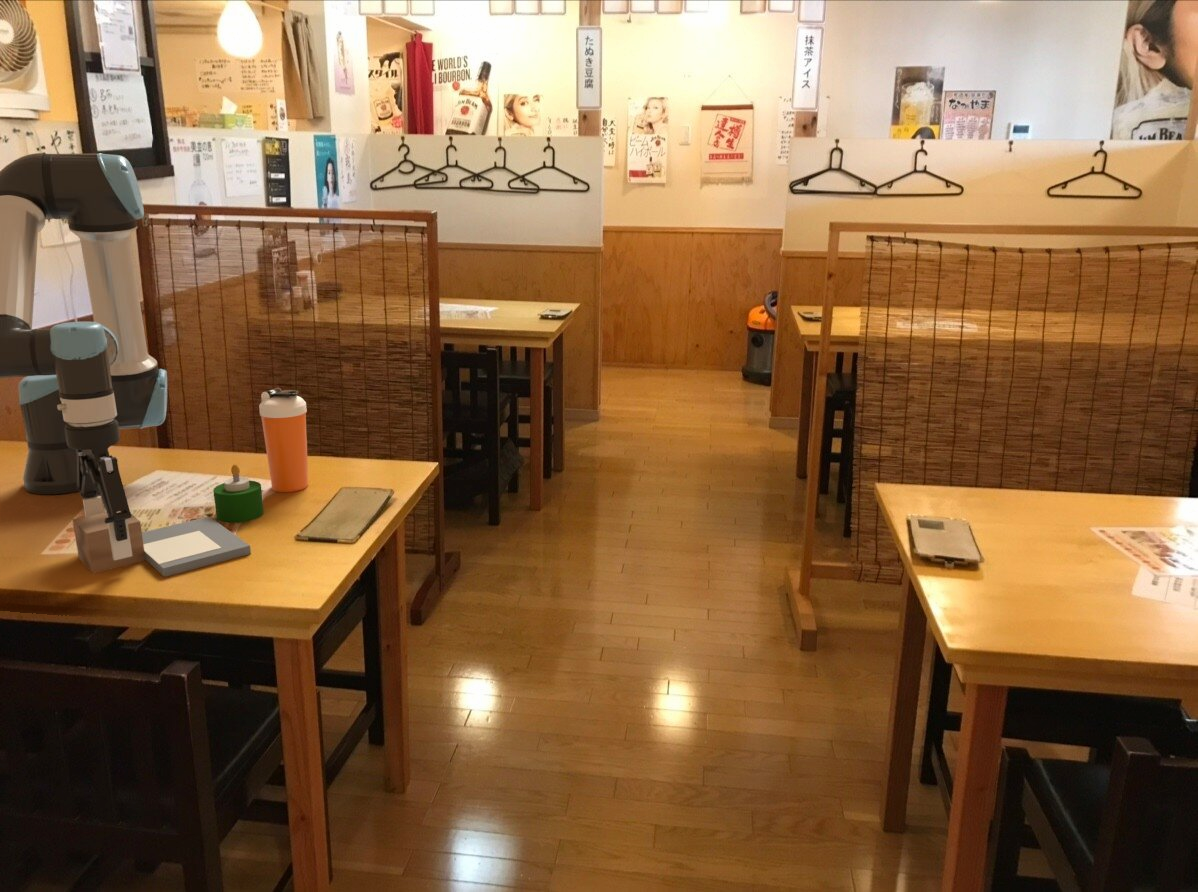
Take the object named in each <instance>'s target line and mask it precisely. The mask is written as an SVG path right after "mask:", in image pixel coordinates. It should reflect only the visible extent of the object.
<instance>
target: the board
mask: <svg viewBox="0 0 1198 892" xmlns="http://www.w3.org/2000/svg"><path fill="white" fill-rule="evenodd" d="M142 538H143V545H144V552H145V559H146V560H145V561H147V563H148V564H149V565H151V566H152V567H153V568H154V569H155V570H156V571H157V572H158V573H159V574H161V575H162V577H164V578H166V577H169V576H175V575H177V574H180V573H185V572H188V571H192V570H196V569H200V568H204V567H207V566H210V565H215V564H217V563H221V562H222V563H223V562H225V561H229V560H232V559H237V558H240V557H244V556H248V555H250V554H252V553H251V545H250V544H248V543H247V542H246V541H244V540H243V539H242V538H240V537H238V536H237V535H236V534H234V532H232V531H230V530H229V529H227V528H226V527H225V526H223V525H222V524H220V522H219V521H216V520H215V519H214V518H212V517H211V516H206V517H200V518H198V519H197V518H196V519H193V520H188V521H184V522H180V523H175V524H172V525H168V526H163V527H159V528H154V529H150V530H147V531H146V530H145V531H142Z"/></svg>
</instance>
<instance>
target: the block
mask: <svg viewBox="0 0 1198 892" xmlns="http://www.w3.org/2000/svg"><path fill="white" fill-rule="evenodd" d="M119 512H121V511H118V512H117V513H119ZM105 518H109V517H108V514H107V511H106V512H105V511H104V513H101V514H96V515H91V516H87V517H85V516H83V517H79V518H74V519H72V524H73V531H74V536H75V538H74V539H75V544H76V550H77V555H78V559H79V561H81V562H82V564H84V566H85V567H87V569H88V570H89V571H90V572H91V574H96V573H101V572H104V571H109V570H111V569H112V570H113V569H116V568H121V567H124V566H128V565H133V564H135V563H136V564H137V563H140V562H144V561H146V559H145V552H144V545H143V538H142V532H143V531H142V525H141V520H139V519H138V518H137V517H135V516H134V514H132V513H131V518H128V519H127V522H128V528H129V535H130V542H131V549H132V556H131V557H127V558H123V559H119V560H115V561H114V560H113V556H112V550H111V543H110V536H109V530H108V523H105V522H104V521H105Z"/></svg>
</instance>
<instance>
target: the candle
mask: <svg viewBox="0 0 1198 892" xmlns="http://www.w3.org/2000/svg"><path fill="white" fill-rule="evenodd" d="M230 471H231V474H232V477H231V478H228V479H226V480H224V483H221V484H218V485H216V486H215V487H213V498H214V499H213V500H214V507H215V514H216V515H215V516H216V520H217V522H219V523H226V524H241V523H248V522H252V521H255V520H257V519H259V518H261V517H262V516H263V515H264V513H265V512H264V510H265V509H264V504H263V500H264V499H263V492H262V484H261V482H259V481H255V480H250V479H249V478H248V477H242V476H240V472H241V471H240V467H239V466H238V464H235V463H234V464H233V465H232V466H231V469H230Z"/></svg>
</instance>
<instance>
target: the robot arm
mask: <svg viewBox="0 0 1198 892" xmlns="http://www.w3.org/2000/svg"><path fill="white" fill-rule="evenodd" d="M144 216H145V209H144V204H143V197H142V194H141V190H140V185H139V183H138V179H137V176H136V173H135V171H134V167H132V164H131V163H130V161H129V160H128V159H127V158H126V157H125V156H122V155H118V154H109V153H107V154H106V153H101V152H100V153H95V152H94V153H90V152H89V153H45V152H43V153H42V152H41V153H40V152H38V153H37V152H36V153H30V154H26V155H24V156H20V157H18V158H16V159H15V160H12V161H11V162H10V163H8V164H7V165H6V166H4V167H3V168H2V169H1V170H0V379H6V378H19V377H23V378H22V379H21V380H20V381H19V382H18V386H17V387H18V397H19V400H18V405H19V406H20V411H21V415H22V422H23V426H24V427H23V428H24V431H25V436H26V437H25V438H26V442H27V443H26V444H27V450H28V452H27V457H26V458H27V459H26V463H25V467H24V473H23V476H22V477H23V478H22V479H23V485H24V489H26V490H27V492H29V493H30V494H31V493H32V494H37V495H60V494H68V493H69V494H70V493H74V492H75V493H76V492H78V493H80V497H81V498H82V505H83V511H84V517H87V516H91V515H96V514H101V513H105V511H106V512H107V514H108V517H109V518H105V521H104V522H105V523H108V530H109V536H110V543H111V550H112V556H113V560H114V561H115V560H119V559H123V558H127V557H131V556H132V549H131V542H130V535H129V528H128V522H127V519H128V518H131V514H132V513H131V511H130V510H131V509H130V507H129V503H128V499H127V496H126V493H125V488H124V485H123V480H122V477H121V474H120V470H119V463H118V458H117V457H116V456H113V455H110V451H109V448H110V447H111V446H115V445H117V444H118V443H119V442H120V441H121V435H120V430H129V429H144V428H150V427H158V426H161V425H162V424H164V422H165V420H166V418H167V417H166V416H167V407H168V372H167V370H166V369H162V368H159V366H158V361H157V360H156V359H155V357H153V356H152V355H150V354H149V353H148V348H147V341H146V333H145V327H144V319H143V314H142V309H141V301H140V294H139V287H138V281H137V280H138V279H137V273H136V267H135V261H134V254H133V249H132V248H133V247H132V240H131V236H132V235H133V233H134V232H136V230H137V229H138V221H137V220H141V219H143V218H144ZM46 220H67V225H68V229H69V231H70V232H71V233H73V234H74V235H76V236H77V237H78V239H80V246H81V253H82V258H83V264H84V265H83V266H84V270H85V276H86V282H87V287H88V292H89V294H88V295H89V299H90V304H91V305H90V306H91V312H92V318H93V321H86V320H85V321H82V320H81V321H69V322H62V323H58V324H55V325H53V326H52V327H51V328H43V329H38V328H36V329H35V328H34V329H33V317H34V316H33V314H34V301H35V299H34V297H35V286H36V285H35V283H36V271H37V270H36V267H37V252H38V241H39V239H38V238H39V233H40V232H41V231H42V230H44V228H45V225H46ZM26 490H25V491H26ZM104 508H105V511H104ZM118 511H121V512H119V513H117V512H118Z"/></svg>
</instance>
